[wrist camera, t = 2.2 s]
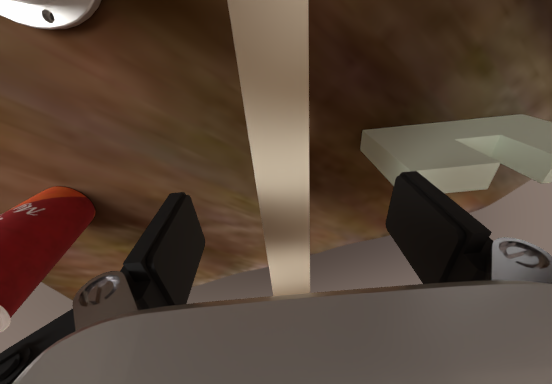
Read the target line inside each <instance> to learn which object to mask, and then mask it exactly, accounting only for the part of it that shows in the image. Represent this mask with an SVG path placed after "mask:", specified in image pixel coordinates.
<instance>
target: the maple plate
mask: <svg viewBox="0 0 552 384" xmlns="http://www.w3.org/2000/svg"><path fill="white" fill-rule="evenodd" d="M227 1H228V8H229V14H230V20H231V27H232V33H233V40H234V46H235V52H236V59H237V65H238V72H239V78H240V85H241V91H242V97H243V104H244V110H245V117H246V123H247V129H248V136H249V142H250V149H251V155H252V161H253V168H254V174H255V181H256V187H257V193H258V200H259V206H260V213H261V219H262V225H263V232H264V238H265V245H266V251H267V257H268V264H269V270H270V277H271V283H272V289H273V296H281V295H293V294H305V293H310V207H309V36H308V0H227Z"/></svg>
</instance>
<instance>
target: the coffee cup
mask: <svg viewBox="0 0 552 384" xmlns="http://www.w3.org/2000/svg"><path fill="white" fill-rule="evenodd" d="M94 216H95V207H94V205H93V204H92V202H91V201H90V200H89V199H88V198H87V197H86V196H85V195H83V194H82V193H80V192H78V191H76V190H74V189H71V188H68V187H62V186H56V187H51V188H49V189H46V190H44V191H42V192H41V193H39V194H37V195H35V196H33V197H31V198H30V199H28V200H26V201H24V202H23V203H21V204H19V205H17V206H15V207H14V208H12V209H10V210H8V211H7V212H5V213H3V214H1V215H0V332H2V331H4V330H6V329H7V328H8V327H9V325H10V323H11V319H10V318H11V317H12V315H13V314H14V313H15V312H16V311H17V309H18V308H19V307H20V306H21V305H22V304H23V302H24V301H25V300H26V299H27V298H28V296H29V295H30V294H31V293H32V292H33V291H34V289H35V288H36V287H37V286H38V285H39V283H40V282H41V281H42V280H43V279H44V278H45V276H46V275H47V274H48V273H49V272H50V270H51V269H52V268H53V267H54V266H55V265H56V263H57V262H58V261H59V260H60V259H61V257H62V256H63V255H64V254H65V253H66V251H67V250H68V249H69V248H70V247H71V245H72V244H73V243H74V242H75V241H76V239H77V238H78V237H79V236H80V235H81V233H82V232H83V231H84V230H85V229H86V227H87V226H88V225H89V224H90V222H91V221H92V220H93V218H94Z"/></svg>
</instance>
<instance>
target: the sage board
mask: <svg viewBox="0 0 552 384" xmlns="http://www.w3.org/2000/svg"><path fill="white" fill-rule="evenodd" d="M360 150H361V152H362V153H363V154H364V155H365V156H366V157H367V158H368V159H369V160H370V161H371V162H372V163H373V164H374V165H375V167H376V168H377V169H378V170H379V171H380V172H381V173H382V174H383V175H384V176H385V177H386V178H387V179H388V180H389V182H390V183H391V184H392V185H393V186H394V184H395V179H396V177H397V176H399V175H400V173H402V172H410V171H417V172H418V173H420V174H421V175H422V176H423V177H425V178H426V179H427V180H428V181H430V182H431V183H432V184H433V185H434V186H436V187H437V188H438V189H439V190H441V191H442V192H443V193H453V192H463V191H473V190H483V189H488V187H489V185H490V183H491V181H492V179H493V177H494V175H495V173H496V171H497V169H498V167H499V165H500V163H501V164H503V165H505V166H507V167H509V168H511V169H513V170H515V171H517V172H519V173H521V174H523V175H525V176H527V177H529V178H531V179H533V180H535V181H537V182H539V183H542V184H544V183H552V122H550V121H546V120H543V119H539V118H535V117H531V116H527V115H524V114H518V115H508V116H498V117H488V118H478V119H468V120H458V121H448V122H438V123H428V124H418V125H408V126H398V127H388V128H378V129H368V130H362V138H361V146H360Z"/></svg>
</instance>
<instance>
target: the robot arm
mask: <svg viewBox="0 0 552 384" xmlns="http://www.w3.org/2000/svg"><path fill="white" fill-rule="evenodd" d="M100 2H101V0H0V15H1V16H3V17H5V18H7V19H10V20H12V21H14V22H16V23H19V24H23V25H26V26H30V27H34V28H41V29H51V30H53V29H68V28H71V27H74V26H77V25H80V24H81V23H83V22H84V21H86V20H87V19H89V18H90V17H91V16H92V14H93V13H94V12H95V11H96V10H97V8H98V7H99V5H100ZM386 228H387V230H388V232H389V233H390V235H391V236H392V238H393V239H394V241H395V242H396V244H397V245H398V247H399V248H400V250H401V251H402V253H403V254H404V256H405V257H406V259H407V260H408V262H409V263H410V265H411V266H412V268H413V269H414V271H415V272H416V274H417V275H418V277H419V278H420V280H421V281H422V283H423V284H418V285H405V286H392V287H379V288H366V289H353V290H341V291H330V292H317V293H305V294H293V295H281V296H270V297H258V298H247V299H235V300H224V301H212V302H202V303H193V304H186V303H187V300H188V297H189V294H190V290H191V287H192V284H193V281H194V278H195V275H196V272H197V268H198V265H199V262H200V259H201V256H202V253H203V250H204V246H205V238H204V235H203V232H202V229H201V226H200V223H199V221H198V218H197V215H196V212H195V209H194V206H193V203H192V200H191V198H190V196H189V195H186V194H185V193H184V192H180V193H171V194H170V195H169V196H168V197H167V199H166V200H165V202H164V203H163V205H162V206H161V208H160V209H159V211H158V212H157V214H156V215H155V217H154V218H153V220H152V221H151V223H150V224H149V226H148V227H147V229H146V230H145V232H144V233H143V235H142V236H141V238H140V239H139V240H138V242H137V243H136V245H135V246H134V248H133V249H132V251H131V252H130V254H129V255H128V257H127V258H126V260H125V261H124V263H123V265H124V266H123V267H122V269H121V271H120V272H119V271H110V272H106V273H103V274H101V275H98V276H96V277H95V278H93V279H91V280H90V281H88V282H87V283H86V284H85V285H84V286H82V287H81V289H80V290H79V291H78V292H77V293H76V295H75V297H74V299H73V309H71V310H70V311H68V312H66V313H65V314H63V315H62V316H60V317H58V318H57V319H55V320H53V321H52V322H50V323H49V324H47V325H45V326H44V327H42V328H40V329H39V330H37V331H35V332H34V333H32V334H31V335H29V336H28V337H26V338H24V339H22V340H21V341H19V342H18V343H16V344H14V345H13V346H11V347H9V348H8V349H6V350H5V351H3V352H2V353H0V384H552V256H551V255H550V254H549V253H547V252H546V251H544V250H543V249H541V248H540V247H537V246H535V245H533V244H531V243H529V242H526V241H523V240H519V239H515V238H505V237H504V238H498V239H496V240H495V241H493V240H491V239H490V238H489V236H490V234H491V231H490V230H489V229H487V228H486V227H485V226H484V225H482V224H481V223H480V222H479V221H477V220H476V219H475V218H473V216H471V215H470V214H469V213H468V212H466V211H465V210H464V209H463V208H461V207H460V206H459V205H458V204H457V203H455V202H454V201H453V200H452V199H450V198H449V197H448V196H447V195H445V194H444V193H443V192H442V191H441V190H439V189H438V188H437V187H436V186H434V185H433V184H432V183H431V182H430V181H428V180H427V179H426V178H425V177H423V176H422V175H421V174H420V173H418V172H417V171H410V172H402V173H400V175H399V176H397V177H396V179H395V184H394V188H393V192H392V197H391V201H390V206H389V210H388V215H387V219H386Z"/></svg>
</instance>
